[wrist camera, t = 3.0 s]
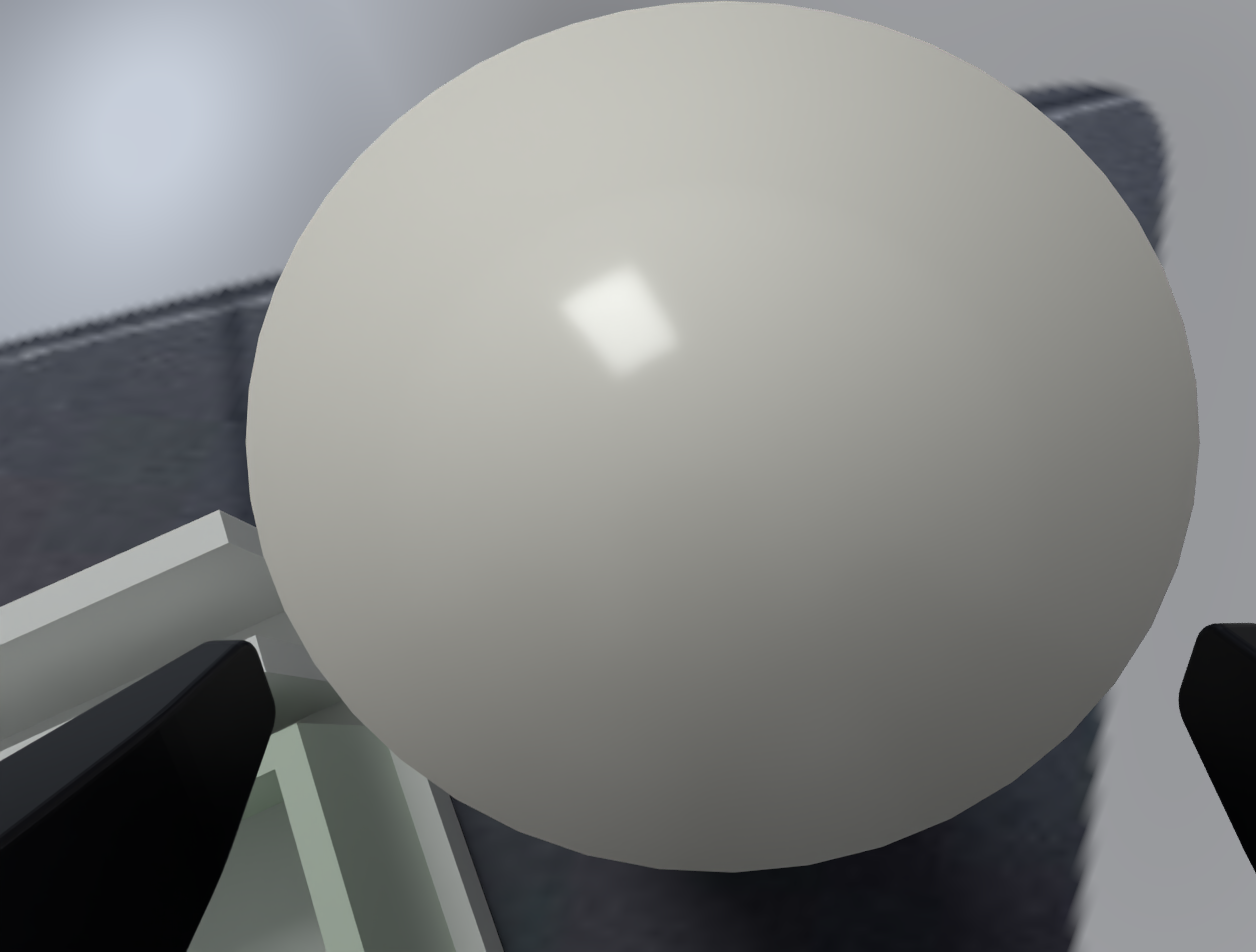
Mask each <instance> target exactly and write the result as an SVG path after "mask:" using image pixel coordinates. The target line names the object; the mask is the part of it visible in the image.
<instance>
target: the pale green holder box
mask: <svg viewBox="0 0 1256 952" xmlns="http://www.w3.org/2000/svg"><path fill="white" fill-rule="evenodd" d="M213 640H245V641H248V642H250V643H251V644H252V645H253V646H254V647H255V648H256V650H257V652H258V655H259V657H260V660H261V663H262V666H263V669H264V672H265V675H266V678H267V681H268V684H269V686H270V689H271V692H272V695H273V698H274V702H275V709H276V715H275V723H274V727H273V731H272V733H271V736H270V739H269V742H268V745H267V748H266V751H265V754H264V757H263V759H262V762H261V765H260V768H259V771H258V774H257V777H256V780H255V783H254V785H253V788H252V791H251V794H250V797H249V800H248V803H247V806H246V809H245V811H244V814H243V817H242V820H241V823H240V826H239V829H238V832H237V835H236V837H235V840H234V843H233V846H232V849H231V851H230V854H229V857H228V859H227V862H226V865H225V867H224V870H223V872H222V875H221V877H220V879H219V882H218V884H217V886H216V889H215V891H214V893H213V895H212V898H211V900H210V902H209V904H208V906H207V909H206V911H205V913H204V915H203V917H202V919H201V922H200V924H199V926H198V928H197V930H196V932H195V935H194V937H193V939H192V941H191V943H190V945H189V948H188V950H187V952H504V950H503V948H502V945H501V942H500V939H499V936H498V933H497V930H496V927H495V925H494V922H493V919H492V916H491V913H490V910H489V907H488V905H487V902H486V899H485V896H484V893H483V890H482V887H481V884H480V882H479V879H478V876H477V873H476V870H475V867H474V864H473V862H472V859H471V856H470V853H469V850H468V847H467V844H466V841H465V839H464V836H463V833H462V830H461V827H460V824H459V821H458V818H457V816H456V813H455V810H454V807H453V804H452V801H451V798H450V796H449V794H448V793H447V792H445V791H444V790H442V789H441V788H440V787H438V786H437V785H435V784H434V783H433V782H431V781H430V780H428V779H427V778H426V777H424V776H423V775H421V774H420V773H419V772H417V771H416V770H415V769H413V768H412V767H410V766H409V765H408V764H406V763H405V762H403V761H402V760H401V759H399V758H398V757H397V756H396V755H395V754H394V753H393V752H392V751H391V750H390V749H389V748H388V747H387V746H386V745H385V744H384V743H383V742H382V741H381V740H380V739H379V738H378V737H377V736H376V735H375V734H374V733H373V732H371V731H370V730H369V729H368V728H367V727H366V726H365V725H364V724H363V723H362V722H361V721H360V720H359V719H358V718H357V717H356V716H355V715H354V714H353V713H352V712H351V710H350V709H349V708H348V707H347V705H346V704H345V703H344V701H343V700H342V699H341V697H340V696H339V695H338V694H337V692H336V691H335V690H334V688H333V687H332V686H331V685H330V683H329V682H328V681H327V679H326V678H325V677H324V675H323V674H322V673H321V672H320V670H319V669H318V668H317V666H316V665H315V664H314V662H313V660H312V659H311V657H310V655H309V653H308V651H307V650H306V648H305V646H304V644H303V643H302V641H301V639H300V637H299V635H298V634H297V632H296V630H295V628H294V627H293V625H292V623H291V621H290V619H289V618H288V616H287V614H286V612H285V611H284V608H283V606H282V603H281V600H280V598H279V595H278V593H277V590H276V587H275V585H274V582H273V580H272V577H271V574H270V572H269V569H268V566H267V564H266V561H265V559H264V556H263V553H262V548H261V544H260V539H259V535H258V531H257V528H256V527H254V526H252V525H250V524H247V523H245V522H243V521H241V520H239V519H237V518H235V517H233V516H231V515H229V514H227V513H225V512H223V511H220V510H218V511H215V512H213V513H211V514H209V515H206V516H204V517H202V518H200V519H197V520H195V521H193V522H191V523H188V524H186V525H184V526H182V527H180V528H177V529H175V530H173V531H171V532H168V533H166V534H164V535H162V536H159V537H157V538H155V539H153V540H150V541H148V542H146V543H144V544H141V545H139V546H137V547H135V548H132V549H130V550H128V551H126V552H123V553H121V554H119V555H117V556H114V557H112V558H110V559H108V560H105V561H103V562H101V563H99V564H96V565H94V566H92V567H90V568H87V569H85V570H83V571H81V572H78V573H76V574H74V575H72V576H69V577H67V578H65V579H63V580H61V581H58V582H56V583H54V584H52V585H49V586H47V587H45V588H43V589H40V590H38V591H36V592H34V593H31V594H29V595H27V596H25V597H22V598H20V599H18V600H16V601H13V602H11V603H9V604H7V605H4V606H2V607H0V761H1V760H3V759H4V758H6V757H8V756H10V755H11V754H13V753H15V752H16V751H18V750H20V749H22V748H23V747H25V746H27V745H29V744H30V743H32V742H34V741H35V740H37V739H39V738H41V737H42V736H44V735H46V734H47V733H49V732H51V731H53V730H54V729H56V728H58V727H59V726H61V725H63V724H65V723H66V722H68V721H70V720H72V719H73V718H75V717H77V716H78V715H80V714H82V713H84V712H85V711H87V710H89V709H90V708H92V707H94V706H96V705H97V704H99V703H101V702H102V701H104V700H106V699H108V698H109V697H111V696H113V695H115V694H116V693H118V692H120V691H121V690H123V689H125V688H127V687H128V686H130V685H132V684H133V683H135V682H137V681H139V680H140V679H142V678H144V677H145V676H147V675H149V674H151V673H152V672H154V671H156V670H158V669H159V668H161V667H163V666H164V665H166V664H168V663H170V662H171V661H173V660H175V659H176V658H178V657H180V656H182V655H183V654H185V653H187V652H188V651H190V650H192V649H194V648H195V647H197V646H199V645H201V644H202V643H205V642H208V641H213Z"/></svg>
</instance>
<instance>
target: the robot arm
mask: <svg viewBox="0 0 1256 952" xmlns="http://www.w3.org/2000/svg"><path fill="white" fill-rule="evenodd" d="M1179 709H1180V713H1181V717H1182V719H1183V722H1184V724H1185V726H1186V728H1187V730H1188V732H1189V735H1190V737H1191V739H1192V741H1193V743H1194V745H1195V747H1196V749H1197V751H1198V754H1199V755H1200V758H1201V760H1202V762H1203V764H1204V766H1205V768H1206V770H1207V773H1208V775H1209V777H1210V779H1211V781H1212V783H1213V785H1214V787H1215V790H1216V792H1217V794H1218V796H1219V798H1220V800H1221V802H1222V804H1223V806H1224V809H1225V811H1226V813H1227V815H1228V817H1229V819H1230V821H1231V823H1232V825H1233V828H1234V830H1235V832H1236V834H1237V836H1238V838H1239V840H1240V842H1241V844H1242V847H1243V849H1244V851H1245V853H1246V855H1247V857H1248V859H1249V861H1250V863H1251V865H1252V866H1253V868H1254V870H1255V872H1256V624H1254V623H1223V624H1222V623H1220V624H1211V625H1209V626H1206V627H1205V628H1203V630H1202V631H1201V632H1200V633H1199V635H1198V637H1197V639H1196V642H1195V645H1194V648H1193V652H1192V655H1191V657H1190V660H1189V664H1188V667H1187V670H1186V673H1185V676H1184V679H1183V682H1182V685H1181V688H1180V692H1179ZM275 715H276V709H275V702H274V698H273V695H272V692H271V689H270V686H269V684H268V681H267V678H266V675H265V672H264V669H263V666H262V663H261V660H260V657H259V655H258V652H257V650H256V648H255V647H254V646H253V645H252V644H251V643H250V642H248V641H245V640H213V641H208V642H205V643H202V644H201V645H199V646H197V647H195V648H194V649H192V650H190V651H188V652H187V653H185V654H183V655H182V656H180V657H178V658H176V659H175V660H173V661H171V662H170V663H168V664H166V665H164V666H163V667H161V668H159V669H158V670H156V671H154V672H152V673H151V674H149V675H147V676H145V677H144V678H142V679H140V680H139V681H137V682H135V683H133V684H132V685H130V686H128V687H127V688H125V689H123V690H121V691H120V692H118V693H116V694H115V695H113V696H111V697H109V698H108V699H106V700H104V701H102V702H101V703H99V704H97V705H96V706H94V707H92V708H90V709H89V710H87V711H85V712H84V713H82V714H80V715H78V716H77V717H75V718H73V719H72V720H70V721H68V722H66V723H65V724H63V725H61V726H59V727H58V728H56V729H54V730H53V731H51V732H49V733H47V734H46V735H44V736H42V737H41V738H39V739H37V740H35V741H34V742H32V743H30V744H29V745H27V746H25V747H23V748H22V749H20V750H18V751H16V752H15V753H13V754H11V755H10V756H8V757H6V758H4V759H3V760H1V761H0V952H187V950H188V948H189V945H190V943H191V941H192V939H193V937H194V935H195V932H196V930H197V928H198V926H199V924H200V922H201V919H202V917H203V915H204V913H205V911H206V909H207V906H208V904H209V902H210V900H211V898H212V895H213V893H214V891H215V889H216V886H217V884H218V882H219V879H220V877H221V875H222V872H223V870H224V867H225V865H226V862H227V859H228V857H229V854H230V851H231V849H232V846H233V843H234V840H235V837H236V835H237V832H238V829H239V826H240V823H241V820H242V817H243V814H244V811H245V809H246V806H247V803H248V800H249V797H250V794H251V791H252V788H253V785H254V783H255V780H256V777H257V774H258V771H259V768H260V765H261V762H262V759H263V757H264V754H265V751H266V748H267V745H268V742H269V739H270V736H271V733H272V731H273V727H274V723H275Z"/></svg>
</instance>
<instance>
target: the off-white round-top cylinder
mask: <svg viewBox="0 0 1256 952" xmlns="http://www.w3.org/2000/svg"><path fill="white" fill-rule="evenodd" d="M1199 443H1200V442H1199V424H1198V407H1197V388H1196V379H1195V374H1194V370H1193V365H1192V360H1191V355H1190V351H1189V346H1188V341H1187V336H1186V331H1185V327H1184V323H1183V320H1182V317H1181V315H1180V312H1179V309H1178V307H1177V304H1176V301H1175V298H1174V296H1173V293H1172V290H1171V288H1170V285H1169V282H1168V279H1167V277H1166V274H1165V271H1164V269H1163V267H1162V265H1161V263H1160V261H1159V260H1158V258H1157V256H1156V254H1155V252H1154V250H1153V248H1152V246H1151V245H1150V243H1149V241H1148V239H1147V237H1146V235H1145V233H1144V231H1143V230H1142V228H1141V226H1140V224H1139V222H1138V220H1137V219H1136V217H1135V216H1134V214H1133V213H1132V212H1131V210H1130V209H1129V208H1128V206H1127V205H1126V203H1125V202H1124V201H1123V199H1122V198H1121V196H1120V195H1119V194H1118V192H1117V191H1116V189H1115V188H1114V187H1113V185H1112V184H1111V183H1110V181H1109V180H1108V178H1107V177H1106V176H1105V174H1104V173H1103V172H1102V171H1101V170H1100V169H1099V168H1098V167H1097V166H1096V165H1095V163H1094V162H1093V161H1092V160H1091V159H1090V158H1089V157H1088V156H1087V155H1086V154H1085V153H1084V152H1083V151H1082V150H1081V148H1080V147H1079V146H1078V145H1077V144H1076V143H1075V142H1074V141H1073V140H1072V139H1071V138H1070V137H1069V136H1068V135H1067V133H1065V132H1064V131H1063V130H1062V129H1061V128H1059V127H1058V126H1057V125H1056V124H1055V123H1053V122H1052V121H1051V120H1050V119H1049V118H1047V117H1046V116H1045V115H1044V114H1043V113H1042V112H1040V111H1039V110H1038V109H1037V108H1036V107H1034V106H1033V105H1032V104H1031V103H1030V102H1028V101H1027V100H1026V99H1025V98H1023V97H1022V96H1020V95H1019V94H1017V93H1016V92H1014V91H1013V90H1011V89H1010V88H1008V87H1007V86H1005V85H1004V84H1002V83H1001V82H999V81H998V80H996V79H994V78H993V77H991V76H990V75H988V74H987V73H985V72H984V71H982V70H981V69H979V68H977V67H975V66H973V65H971V64H969V63H967V62H966V61H963V60H961V59H960V58H958V57H956V56H954V55H952V54H950V53H948V52H946V51H944V50H942V49H940V48H937V47H936V46H934V45H932V44H929V43H927V42H924V41H922V40H919V39H916V38H914V37H911V36H908V35H906V34H903V33H900V32H898V31H895V30H892V29H890V28H887V27H884V26H882V25H878V24H875V23H871V22H867V21H863V20H859V19H855V18H852V17H848V16H844V15H840V14H836V13H832V12H828V11H822V10H814V9H809V8H801V7H796V6H789V5H782V4H773V3H753V2H733V1H717V2H696V3H675V4H667V5H661V6H654V7H647V8H641V9H634V10H627V11H621V12H617V13H613V14H610V15H605V16H602V17H598V18H594V19H590V20H586V21H582V22H578V23H574V24H571V25H569V26H566V27H563V28H560V29H557V30H554V31H552V32H549V33H546V34H543V35H540V36H538V37H535V38H532V39H529V40H527V41H524V42H522V43H520V44H518V45H516V46H514V47H512V48H510V49H507V50H505V51H503V52H501V53H500V54H497V55H495V56H493V57H491V58H489V59H487V60H485V61H483V62H481V63H479V64H477V65H476V66H474V67H472V68H470V69H469V70H467V71H466V72H464V73H463V74H461V75H459V76H458V77H456V78H454V79H453V80H451V81H449V82H448V83H446V84H445V85H443V86H441V87H440V88H438V89H436V90H435V91H434V92H433V93H431V94H430V95H429V96H427V97H426V98H425V99H423V100H422V101H421V102H420V103H418V104H417V105H416V106H414V107H413V108H412V109H410V110H409V111H408V112H407V113H405V114H404V115H403V116H401V117H400V118H399V119H398V120H396V121H395V122H394V123H393V124H392V125H391V126H390V127H389V128H388V129H387V130H386V131H385V132H384V133H383V134H382V135H381V136H380V137H379V138H378V139H377V140H375V142H373V143H372V144H371V145H370V146H369V147H368V148H367V149H366V150H365V151H364V152H363V153H362V154H361V155H360V156H359V157H358V158H357V159H356V161H355V162H354V163H353V164H352V165H351V167H350V168H349V169H348V170H347V172H346V173H345V174H344V175H343V177H342V178H341V179H340V180H339V181H338V182H337V184H336V185H335V186H334V187H333V189H332V190H331V191H330V192H329V194H328V195H327V196H326V198H325V199H324V201H323V202H322V204H321V205H320V207H319V208H318V210H317V211H316V213H315V214H314V216H313V218H312V219H311V221H310V222H309V224H308V226H307V227H306V228H305V230H304V232H303V233H302V235H301V236H300V238H299V239H298V241H297V244H296V246H295V248H294V250H293V252H292V254H291V256H290V258H289V260H288V262H287V264H286V266H285V268H284V270H283V272H282V275H281V277H280V279H279V281H278V283H277V285H276V287H275V290H274V293H273V296H272V299H271V302H270V305H269V308H268V311H267V314H266V317H265V320H264V323H263V326H262V329H261V332H260V335H259V340H258V345H257V350H256V355H255V360H254V365H253V370H252V375H251V381H250V386H249V396H248V413H247V431H246V452H247V464H248V476H249V489H250V499H251V504H252V508H253V513H254V517H255V522H256V526H257V531H258V535H259V539H260V544H261V548H262V553H263V556H264V559H265V561H266V564H267V566H268V569H269V572H270V574H271V577H272V580H273V582H274V585H275V587H276V590H277V593H278V595H279V598H280V600H281V603H282V606H283V608H284V611H285V612H286V614H287V616H288V618H289V619H290V621H291V623H292V625H293V627H294V628H295V630H296V632H297V634H298V635H299V637H300V639H301V641H302V643H303V644H304V646H305V648H306V650H307V651H308V653H309V655H310V657H311V659H312V660H313V662H314V664H315V665H316V666H317V668H318V669H319V670H320V672H321V673H322V674H323V675H324V677H325V678H326V679H327V681H328V682H329V683H330V685H331V686H332V687H333V688H334V690H335V691H336V692H337V694H338V695H339V696H340V697H341V699H342V700H343V701H344V703H345V704H346V705H347V707H348V708H349V709H350V710H351V712H352V713H353V714H354V715H355V716H356V717H357V718H358V719H359V720H360V721H361V722H362V723H363V724H364V725H365V726H366V727H367V728H368V729H369V730H370V731H371V732H373V733H374V734H375V735H376V736H377V737H378V738H379V739H380V740H381V741H382V742H383V743H384V744H385V745H386V746H387V747H388V748H389V749H390V750H391V751H392V752H393V753H394V754H395V755H396V756H397V757H398V758H399V759H401V760H402V761H403V762H405V763H406V764H408V765H409V766H410V767H412V768H413V769H415V770H416V771H417V772H419V773H420V774H421V775H423V776H424V777H426V778H427V779H428V780H430V781H431V782H433V783H434V784H435V785H437V786H438V787H440V788H441V789H442V790H444V791H445V792H447V793H448V794H449V795H451V796H452V797H454V798H455V799H457V800H459V801H460V802H462V803H464V804H466V805H468V806H470V807H472V808H474V809H476V810H478V811H480V812H482V813H484V814H486V815H487V816H489V817H491V818H493V819H495V820H497V821H499V822H501V823H503V824H505V825H507V826H509V827H511V828H513V829H515V830H516V831H518V832H521V833H524V834H527V835H530V836H533V837H536V838H539V839H542V840H544V841H547V842H550V843H553V844H556V845H559V846H562V847H565V848H568V849H570V850H573V851H576V852H579V853H582V854H585V855H589V856H594V857H599V858H604V859H609V860H615V861H620V862H625V863H630V864H635V865H641V866H646V867H651V868H656V869H669V870H690V871H712V872H733V873H734V872H744V871H755V870H765V869H775V868H785V867H796V866H806V865H812V864H816V863H820V862H824V861H828V860H832V859H836V858H840V857H844V856H848V855H852V854H856V853H860V852H864V851H868V850H872V849H876V848H880V847H883V846H886V845H888V844H891V843H893V842H895V841H898V840H900V839H903V838H905V837H908V836H910V835H912V834H915V833H917V832H920V831H922V830H925V829H927V828H930V827H932V826H934V825H937V824H939V823H942V822H944V821H947V820H949V819H951V818H953V817H954V816H956V815H958V814H960V813H961V812H963V811H965V810H966V809H968V808H970V807H971V806H973V805H975V804H976V803H978V802H980V801H981V800H983V799H985V798H986V797H988V796H990V795H991V794H993V793H995V792H996V791H998V790H1000V789H1001V788H1003V787H1005V786H1006V785H1008V784H1010V783H1011V782H1013V781H1014V780H1016V779H1017V778H1018V777H1019V776H1020V775H1022V774H1023V773H1024V772H1025V771H1026V770H1028V769H1029V768H1030V767H1031V766H1032V765H1034V764H1035V763H1036V762H1037V761H1038V760H1040V759H1041V758H1042V757H1043V756H1045V755H1046V754H1047V753H1048V752H1049V751H1051V750H1052V749H1053V748H1054V747H1055V746H1057V745H1058V744H1059V743H1060V742H1061V741H1063V740H1064V739H1065V738H1066V737H1067V736H1069V735H1070V733H1071V732H1072V731H1073V730H1074V729H1075V728H1076V727H1077V726H1078V724H1079V723H1080V722H1081V721H1082V720H1083V719H1084V718H1085V717H1086V715H1087V714H1088V713H1089V712H1090V711H1091V710H1092V709H1093V707H1094V706H1095V705H1096V704H1097V703H1098V702H1099V701H1100V700H1101V698H1102V697H1103V696H1104V695H1105V694H1106V693H1107V692H1108V691H1109V689H1110V688H1111V687H1112V686H1113V685H1114V684H1115V682H1116V681H1117V679H1118V678H1119V676H1120V675H1121V673H1122V671H1123V670H1124V668H1125V667H1126V665H1127V664H1128V662H1129V660H1130V659H1131V657H1132V656H1133V654H1134V653H1135V651H1136V649H1137V648H1138V646H1139V645H1140V643H1141V642H1142V640H1143V639H1144V637H1145V635H1146V634H1147V632H1148V631H1149V629H1150V628H1151V626H1152V623H1153V621H1154V619H1155V617H1156V614H1157V612H1158V610H1159V608H1160V605H1161V603H1162V601H1163V598H1164V596H1165V594H1166V592H1167V589H1168V587H1169V584H1170V582H1171V580H1172V578H1173V575H1174V573H1175V571H1176V569H1177V566H1178V563H1179V559H1180V555H1181V551H1182V547H1183V543H1184V539H1185V536H1186V532H1187V528H1188V524H1189V520H1190V516H1191V512H1192V508H1193V505H1194V495H1195V485H1196V474H1197V463H1198V454H1199Z"/></svg>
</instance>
